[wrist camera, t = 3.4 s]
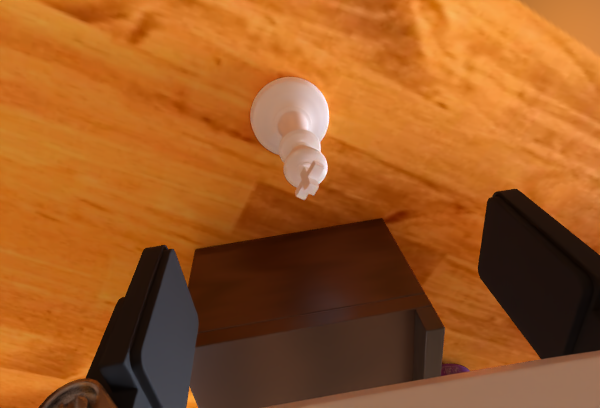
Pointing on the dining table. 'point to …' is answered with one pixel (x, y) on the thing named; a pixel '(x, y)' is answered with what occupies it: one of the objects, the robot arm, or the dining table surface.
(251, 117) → the chess piece
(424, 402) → the robot arm
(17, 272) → the dining table surface
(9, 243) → the dining table surface
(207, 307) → the open box
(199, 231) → the dining table surface
